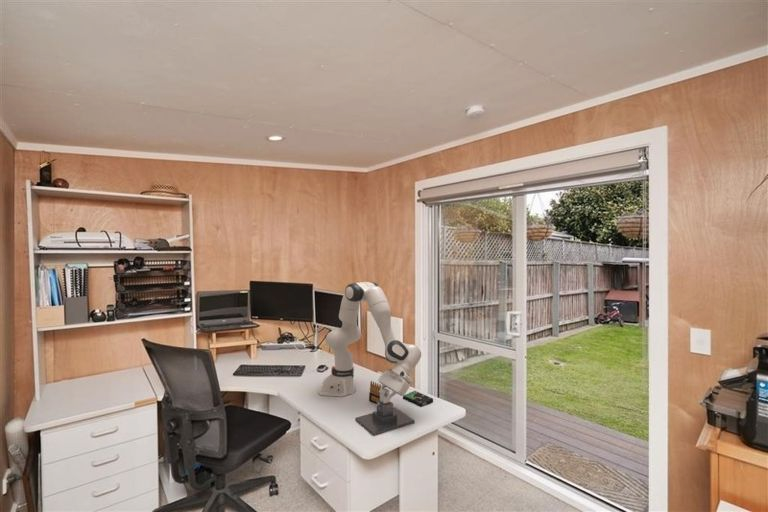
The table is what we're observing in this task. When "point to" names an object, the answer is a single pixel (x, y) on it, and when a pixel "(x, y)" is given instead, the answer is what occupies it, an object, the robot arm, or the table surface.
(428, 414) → the table surface
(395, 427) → the metal stepped base
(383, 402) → the column
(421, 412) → the table surface
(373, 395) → the ammunition clip
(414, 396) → the disk drive
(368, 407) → the table surface
